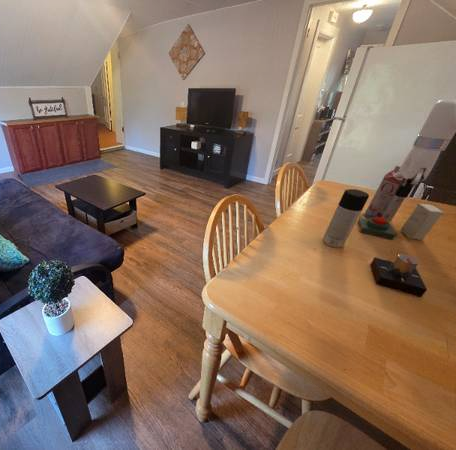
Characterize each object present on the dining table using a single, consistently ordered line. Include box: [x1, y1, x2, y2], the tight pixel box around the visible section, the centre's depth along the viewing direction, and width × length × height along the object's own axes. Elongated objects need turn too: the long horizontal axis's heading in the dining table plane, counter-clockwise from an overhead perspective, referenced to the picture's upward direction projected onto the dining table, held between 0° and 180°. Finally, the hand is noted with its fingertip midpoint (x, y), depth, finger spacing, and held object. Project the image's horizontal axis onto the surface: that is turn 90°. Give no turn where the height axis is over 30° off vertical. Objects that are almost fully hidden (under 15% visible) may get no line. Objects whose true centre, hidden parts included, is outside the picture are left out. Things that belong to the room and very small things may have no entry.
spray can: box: [322, 188, 370, 248], centre depth 84 cm, size 7×7×20 cm
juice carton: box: [363, 165, 406, 223], centre depth 99 cm, size 7×7×22 cm
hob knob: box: [389, 253, 420, 277], centre depth 70 cm, size 4×4×5 cm
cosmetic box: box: [400, 203, 445, 241], centre depth 90 cm, size 6×4×12 cm
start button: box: [373, 217, 387, 225], centre depth 94 cm, size 4×4×2 cm
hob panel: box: [369, 257, 428, 298], centre depth 72 cm, size 10×10×3 cm
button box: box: [357, 217, 397, 241], centre depth 95 cm, size 10×9×4 cm
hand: (400, 196), depth 87 cm, fingers closed
